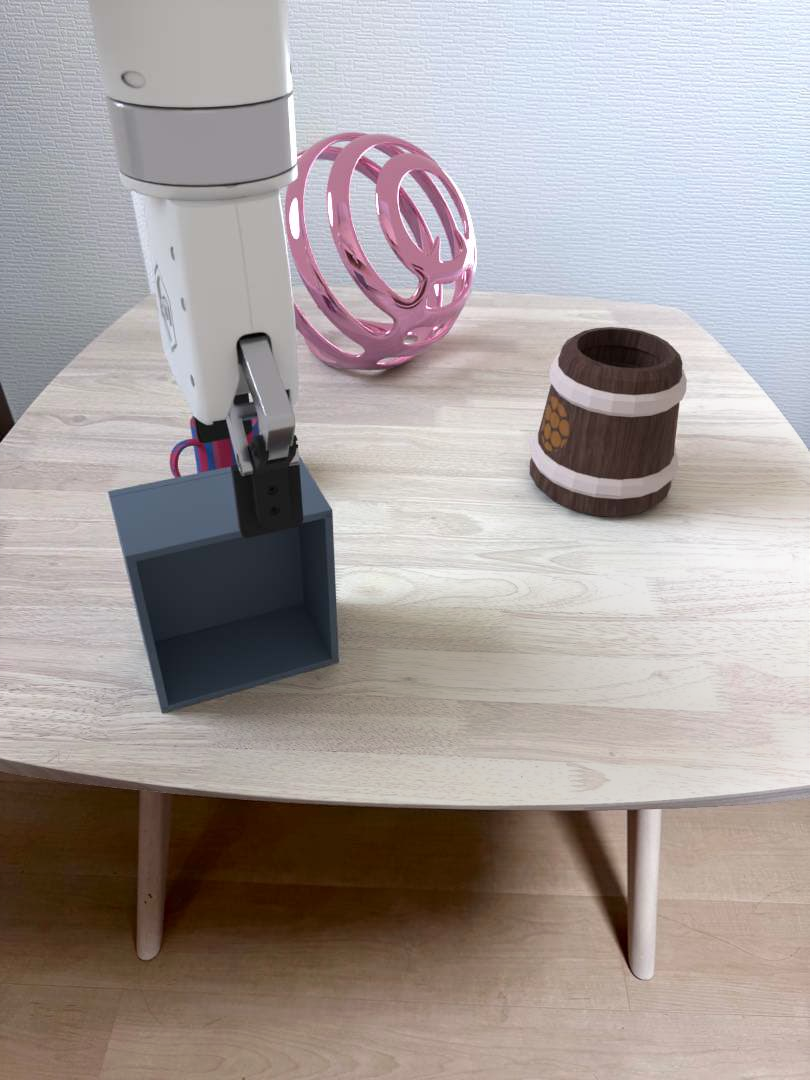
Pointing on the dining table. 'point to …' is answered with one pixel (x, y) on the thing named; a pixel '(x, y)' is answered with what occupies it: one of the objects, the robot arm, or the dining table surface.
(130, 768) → the dining table surface
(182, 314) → the robot arm
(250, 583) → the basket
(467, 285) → the spiral basket
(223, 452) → the cup
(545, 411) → the mug
